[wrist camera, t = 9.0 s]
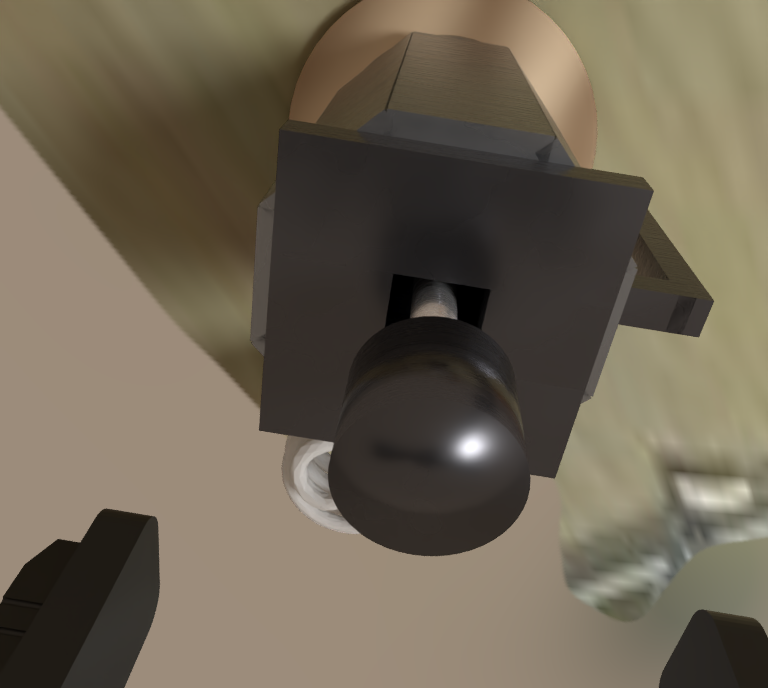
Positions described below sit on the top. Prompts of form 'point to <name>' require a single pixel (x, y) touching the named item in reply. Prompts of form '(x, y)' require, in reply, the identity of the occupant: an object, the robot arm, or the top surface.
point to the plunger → (430, 434)
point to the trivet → (460, 18)
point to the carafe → (453, 239)
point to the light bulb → (312, 482)
